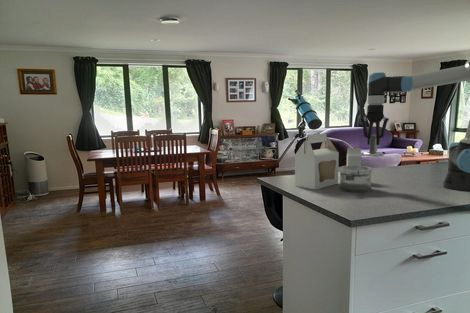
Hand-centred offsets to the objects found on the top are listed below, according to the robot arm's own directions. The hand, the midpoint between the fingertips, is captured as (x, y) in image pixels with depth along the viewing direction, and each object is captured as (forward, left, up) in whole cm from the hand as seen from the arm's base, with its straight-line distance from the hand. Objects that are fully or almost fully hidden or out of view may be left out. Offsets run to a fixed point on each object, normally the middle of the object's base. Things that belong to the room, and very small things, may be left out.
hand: (373, 151), depth 174 cm
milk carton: (+13, -14, -20) cm, 27 cm away
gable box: (+28, +4, -20) cm, 35 cm away
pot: (+7, +8, -19) cm, 22 cm away
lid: (0, 0, -2) cm, 2 cm away
